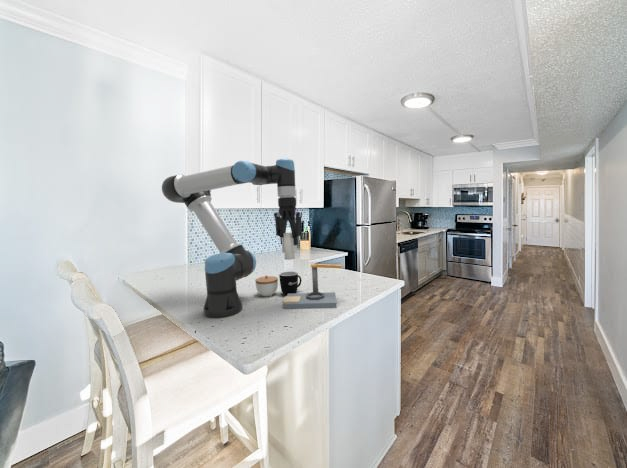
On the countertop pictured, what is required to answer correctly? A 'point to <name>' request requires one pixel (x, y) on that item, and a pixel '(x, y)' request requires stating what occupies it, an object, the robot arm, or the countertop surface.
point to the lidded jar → (266, 285)
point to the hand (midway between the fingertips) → (289, 252)
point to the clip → (325, 266)
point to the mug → (289, 282)
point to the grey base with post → (310, 297)
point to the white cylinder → (288, 247)
